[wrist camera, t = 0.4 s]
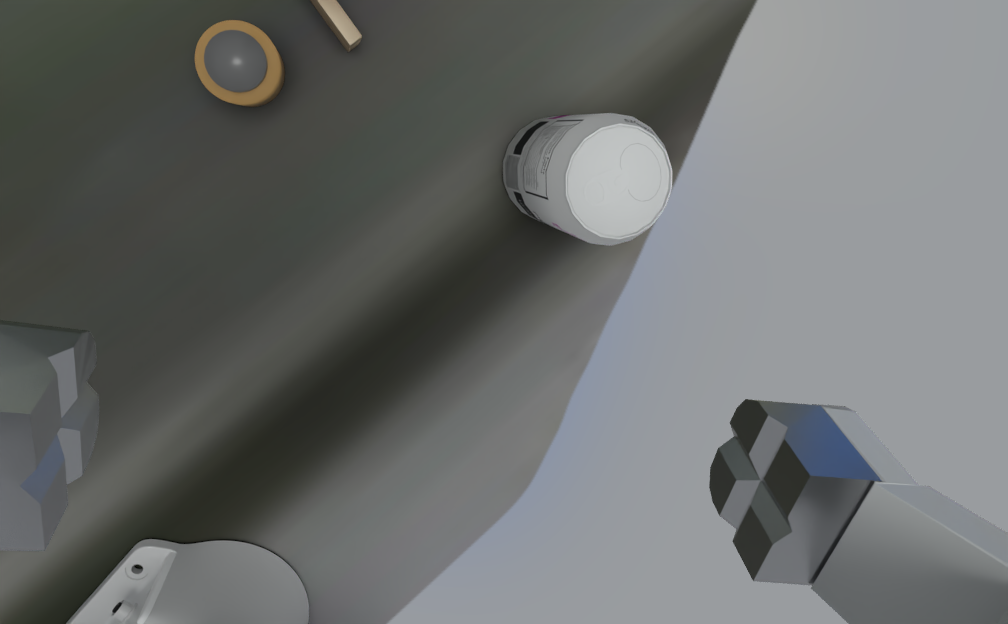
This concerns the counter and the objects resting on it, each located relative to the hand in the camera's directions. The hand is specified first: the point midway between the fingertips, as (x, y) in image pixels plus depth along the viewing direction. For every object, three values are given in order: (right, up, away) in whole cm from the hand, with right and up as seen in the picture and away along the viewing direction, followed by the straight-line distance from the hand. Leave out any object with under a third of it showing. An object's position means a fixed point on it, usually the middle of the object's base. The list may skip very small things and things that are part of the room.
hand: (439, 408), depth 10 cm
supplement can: (+5, +13, +51) cm, 53 cm away
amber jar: (-17, +18, +44) cm, 51 cm away
